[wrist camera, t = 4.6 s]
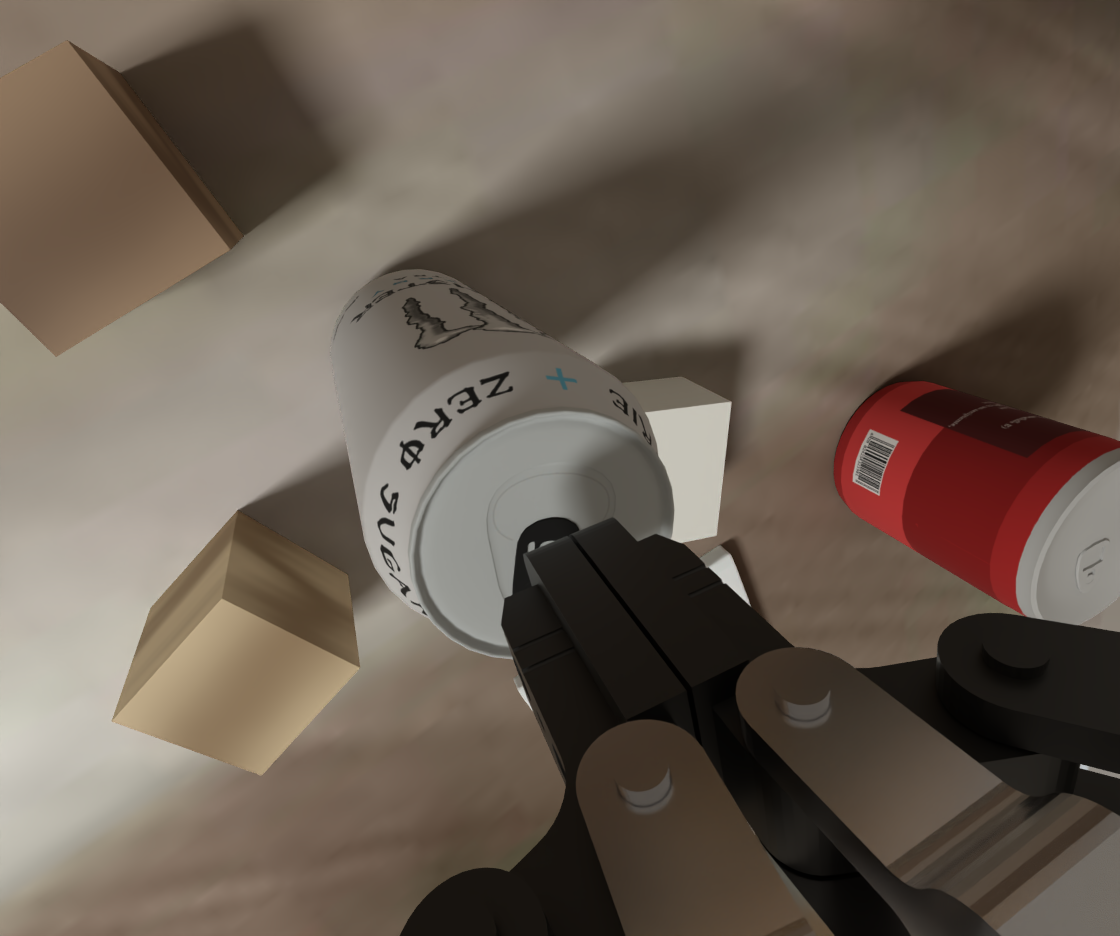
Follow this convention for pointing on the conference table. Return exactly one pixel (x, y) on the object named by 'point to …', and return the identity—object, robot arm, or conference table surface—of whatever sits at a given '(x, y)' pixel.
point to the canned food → (989, 496)
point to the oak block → (242, 649)
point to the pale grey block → (688, 448)
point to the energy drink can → (480, 447)
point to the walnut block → (92, 200)
